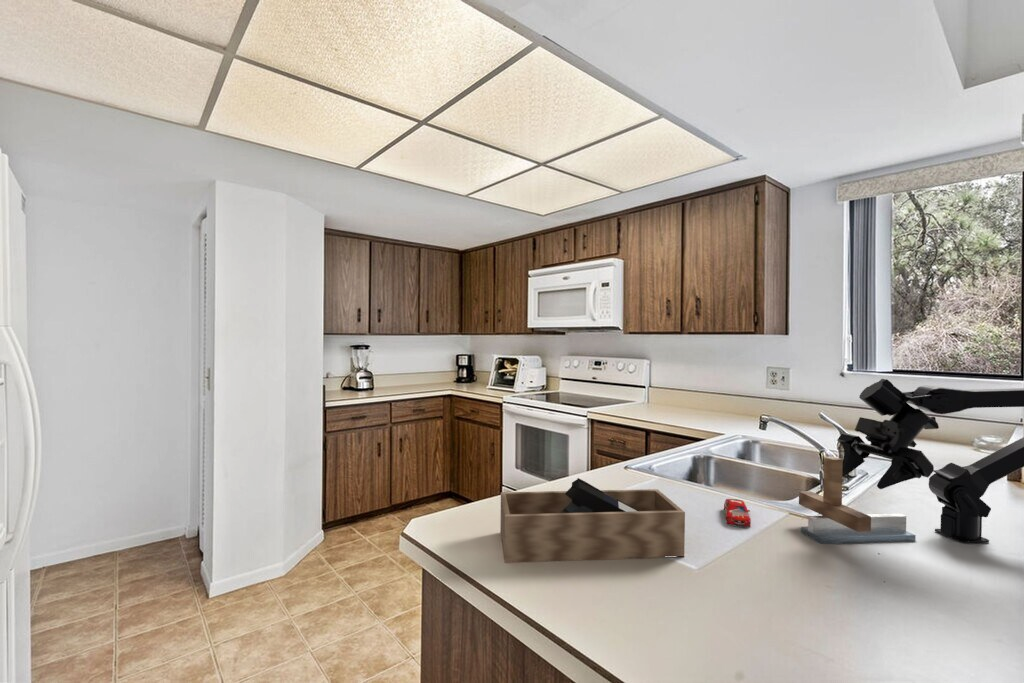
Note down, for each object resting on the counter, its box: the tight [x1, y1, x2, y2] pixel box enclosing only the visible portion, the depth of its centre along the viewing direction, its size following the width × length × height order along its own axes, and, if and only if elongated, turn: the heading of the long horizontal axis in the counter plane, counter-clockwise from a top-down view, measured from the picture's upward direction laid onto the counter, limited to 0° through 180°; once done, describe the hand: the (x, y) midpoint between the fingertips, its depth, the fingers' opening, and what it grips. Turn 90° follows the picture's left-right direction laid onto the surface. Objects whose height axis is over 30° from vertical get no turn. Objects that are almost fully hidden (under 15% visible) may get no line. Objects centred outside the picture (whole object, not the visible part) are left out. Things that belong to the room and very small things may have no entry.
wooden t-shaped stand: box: [798, 456, 871, 532], centre depth 105 cm, size 16×3×13 cm, turn 9°
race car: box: [723, 498, 752, 528], centre depth 115 cm, size 13×5×4 cm, turn 158°
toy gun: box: [560, 477, 639, 513], centre depth 102 cm, size 3×24×15 cm, turn 108°
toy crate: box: [499, 488, 686, 564], centre depth 100 cm, size 36×14×9 cm, turn 95°
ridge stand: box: [800, 513, 916, 544], centre depth 105 cm, size 22×6×4 cm, turn 95°
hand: (859, 481), depth 106 cm, fingers open, 9 cm apart
